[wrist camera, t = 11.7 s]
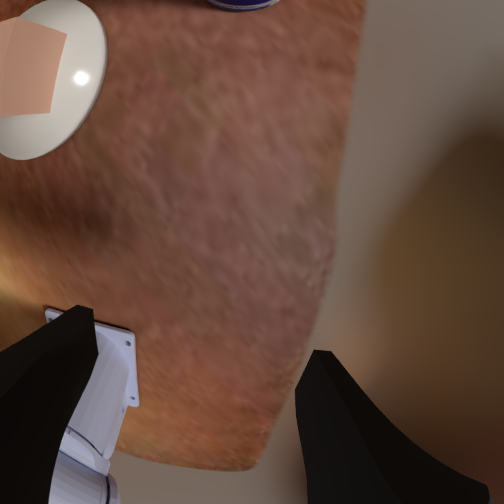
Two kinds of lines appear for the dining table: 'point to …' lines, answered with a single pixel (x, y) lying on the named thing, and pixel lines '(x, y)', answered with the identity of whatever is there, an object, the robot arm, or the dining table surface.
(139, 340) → the dining table surface
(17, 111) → the cube
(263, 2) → the energy drink
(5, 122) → the saucer
